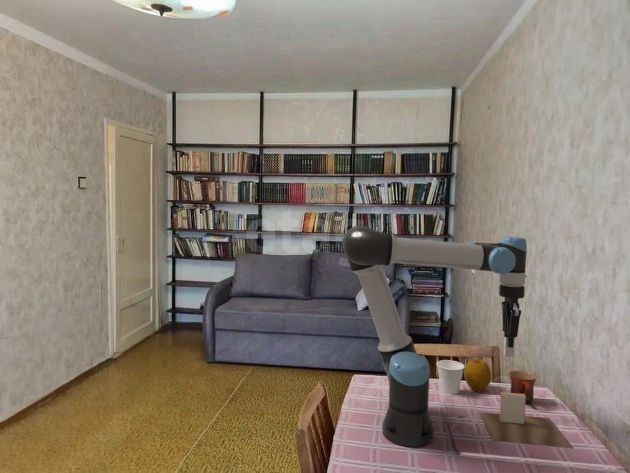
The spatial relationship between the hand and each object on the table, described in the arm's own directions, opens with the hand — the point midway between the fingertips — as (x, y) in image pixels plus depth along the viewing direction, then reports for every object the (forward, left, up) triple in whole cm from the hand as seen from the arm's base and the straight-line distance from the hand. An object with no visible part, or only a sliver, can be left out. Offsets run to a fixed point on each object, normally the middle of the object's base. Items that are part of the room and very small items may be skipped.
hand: (508, 355), depth 143 cm
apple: (-5, +21, -21) cm, 30 cm away
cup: (-16, +15, -21) cm, 30 cm away
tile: (0, -6, -19) cm, 20 cm away
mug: (+8, +10, -21) cm, 24 cm away
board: (+2, -10, -20) cm, 23 cm away
